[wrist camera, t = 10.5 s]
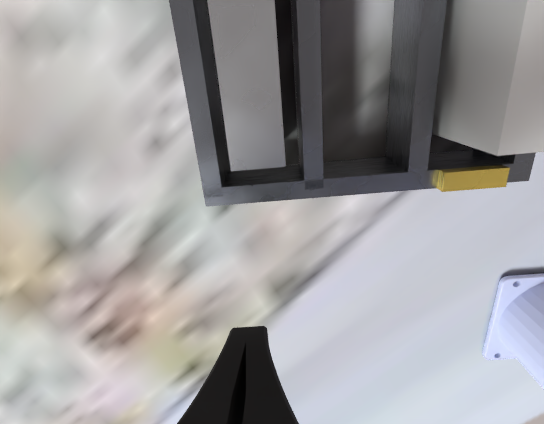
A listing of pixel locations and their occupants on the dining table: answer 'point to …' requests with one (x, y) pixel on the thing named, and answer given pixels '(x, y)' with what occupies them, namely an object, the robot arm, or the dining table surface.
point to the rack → (314, 107)
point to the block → (492, 76)
